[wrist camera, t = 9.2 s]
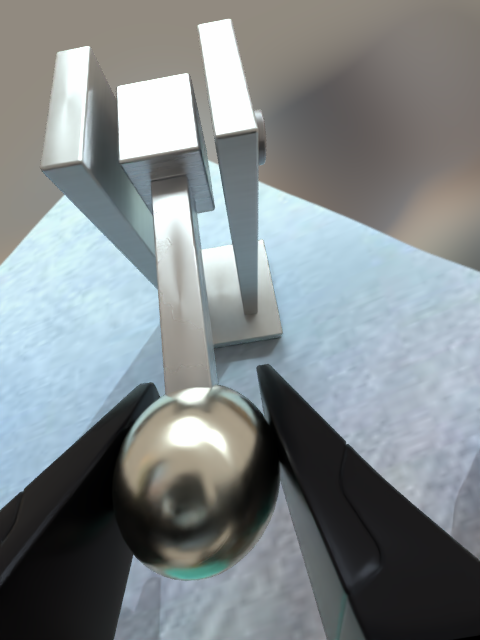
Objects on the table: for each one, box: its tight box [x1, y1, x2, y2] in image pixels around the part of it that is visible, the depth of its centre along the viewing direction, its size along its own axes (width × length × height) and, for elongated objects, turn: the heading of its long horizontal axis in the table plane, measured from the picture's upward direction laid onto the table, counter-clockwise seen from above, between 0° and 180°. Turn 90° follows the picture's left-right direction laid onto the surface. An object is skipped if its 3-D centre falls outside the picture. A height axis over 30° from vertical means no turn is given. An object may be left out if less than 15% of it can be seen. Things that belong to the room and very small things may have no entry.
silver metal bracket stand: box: [40, 19, 283, 348], centre depth 12 cm, size 8×8×14 cm
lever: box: [112, 73, 280, 581], centre depth 6 cm, size 12×4×4 cm, turn 8°
